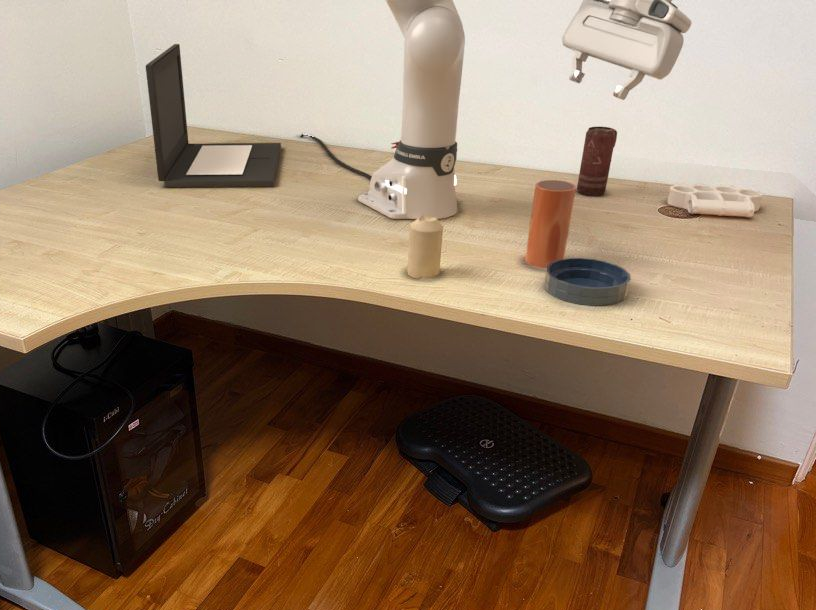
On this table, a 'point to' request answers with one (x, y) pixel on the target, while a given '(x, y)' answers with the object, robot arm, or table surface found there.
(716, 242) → the table surface
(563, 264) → the bowl
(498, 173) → the table surface
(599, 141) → the can
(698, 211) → the white brass knuckles
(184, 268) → the table surface
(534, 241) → the tumbler
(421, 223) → the candle
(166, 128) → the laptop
